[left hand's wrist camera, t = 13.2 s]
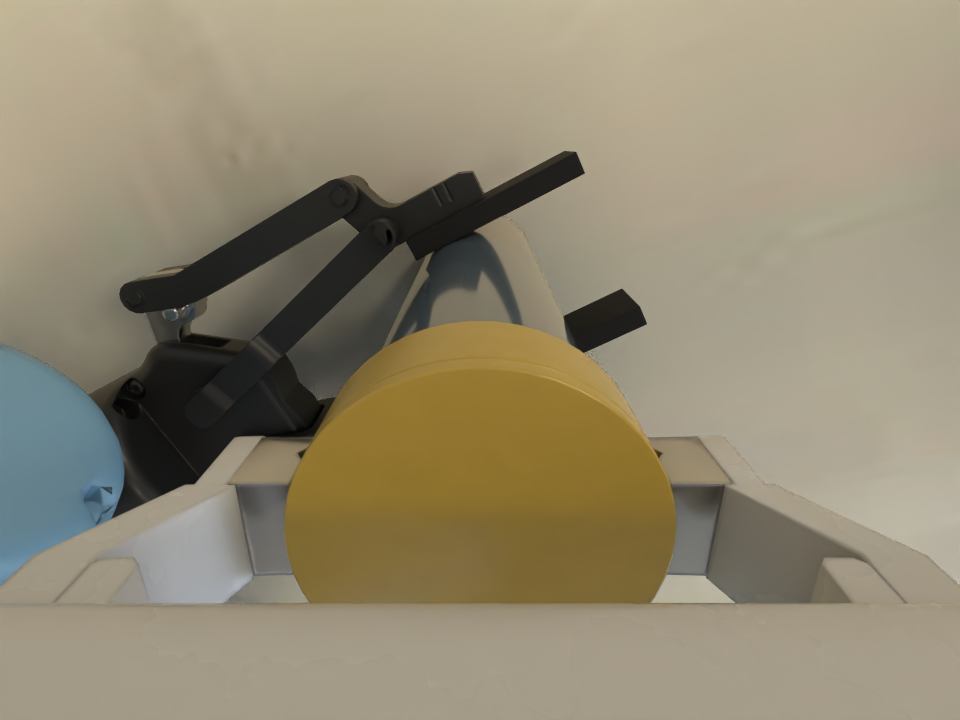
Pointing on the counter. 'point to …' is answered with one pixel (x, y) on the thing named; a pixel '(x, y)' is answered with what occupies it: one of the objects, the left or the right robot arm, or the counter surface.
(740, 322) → the counter surface
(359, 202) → the right robot arm
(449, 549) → the lid
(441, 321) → the jar
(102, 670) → the left robot arm
